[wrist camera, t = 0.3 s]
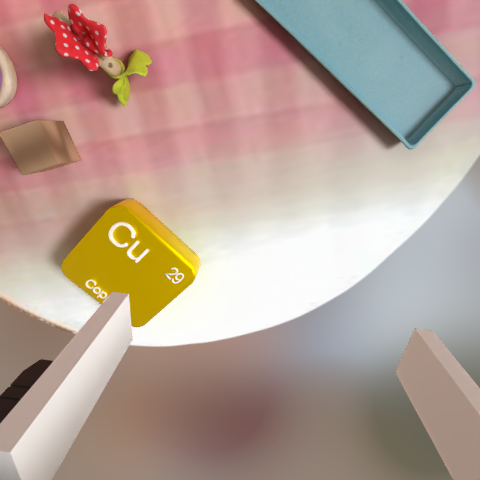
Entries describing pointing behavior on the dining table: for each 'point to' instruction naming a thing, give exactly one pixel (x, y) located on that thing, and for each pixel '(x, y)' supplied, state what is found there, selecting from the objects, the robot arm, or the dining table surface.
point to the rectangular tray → (379, 59)
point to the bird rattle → (94, 48)
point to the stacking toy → (7, 79)
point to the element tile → (132, 261)
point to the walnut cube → (40, 146)
